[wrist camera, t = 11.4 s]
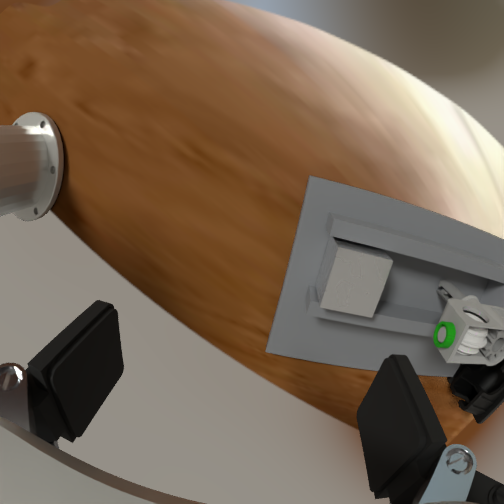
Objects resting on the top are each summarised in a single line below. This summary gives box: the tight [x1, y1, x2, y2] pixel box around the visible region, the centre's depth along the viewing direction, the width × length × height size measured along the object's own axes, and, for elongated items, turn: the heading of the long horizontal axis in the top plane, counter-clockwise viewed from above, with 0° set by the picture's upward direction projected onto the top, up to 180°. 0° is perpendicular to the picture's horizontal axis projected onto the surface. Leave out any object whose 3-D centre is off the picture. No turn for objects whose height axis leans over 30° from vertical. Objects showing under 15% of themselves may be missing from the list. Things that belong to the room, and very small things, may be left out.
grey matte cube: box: [316, 236, 393, 318], centre depth 20 cm, size 4×4×4 cm
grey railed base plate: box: [266, 175, 504, 377], centre depth 21 cm, size 22×16×5 cm
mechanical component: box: [432, 279, 504, 366], centre depth 17 cm, size 3×10×10 cm, turn 81°
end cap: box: [447, 354, 504, 424], centre depth 22 cm, size 10×7×7 cm
